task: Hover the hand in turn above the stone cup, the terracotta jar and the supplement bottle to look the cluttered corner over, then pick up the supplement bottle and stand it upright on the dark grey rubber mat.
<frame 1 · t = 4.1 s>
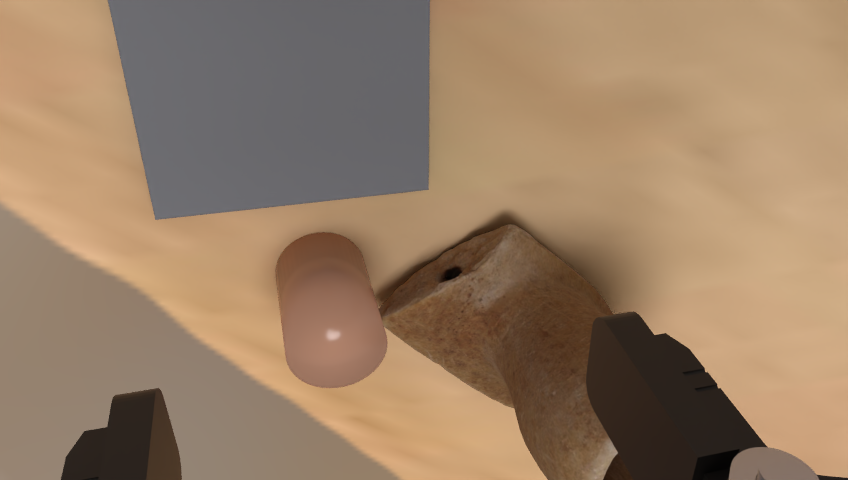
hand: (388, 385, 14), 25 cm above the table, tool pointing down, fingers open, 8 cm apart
stone cup: (515, 296, 48), on the table
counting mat: (284, 86, 37), on the table
terracotta jar: (320, 270, 43), on the table
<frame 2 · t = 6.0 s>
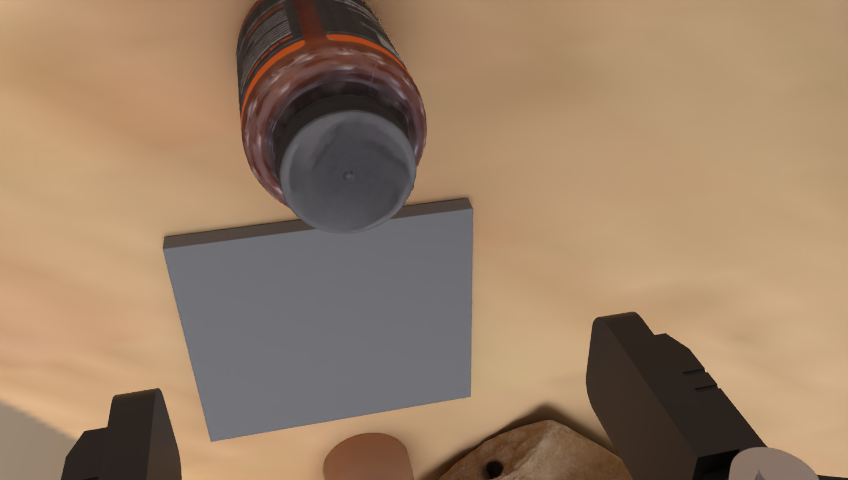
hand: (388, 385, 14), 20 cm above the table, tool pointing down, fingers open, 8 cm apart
supplement bottle: (311, 49, 31), on the table
stone cup: (554, 469, 49), on the table
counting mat: (332, 319, 38), on the table
terracotta jar: (366, 463, 44), on the table
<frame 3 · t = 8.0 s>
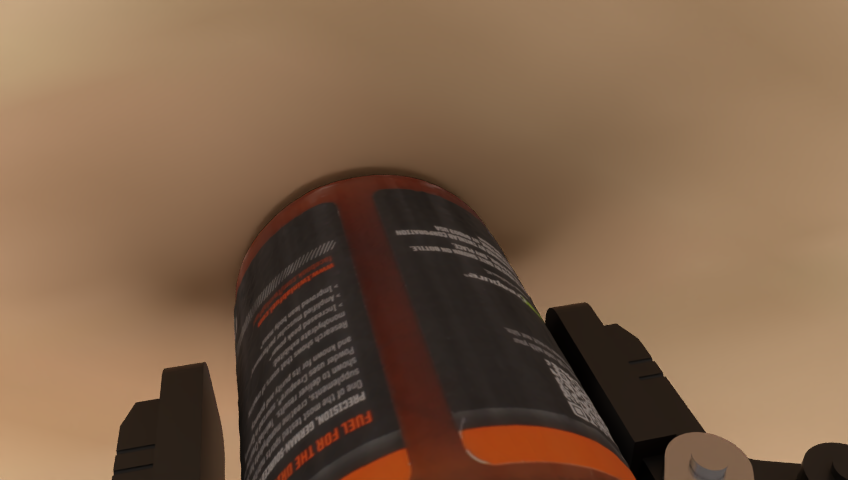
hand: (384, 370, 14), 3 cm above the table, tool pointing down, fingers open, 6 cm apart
supplement bottle: (367, 276, 17), on the table, touching gripper
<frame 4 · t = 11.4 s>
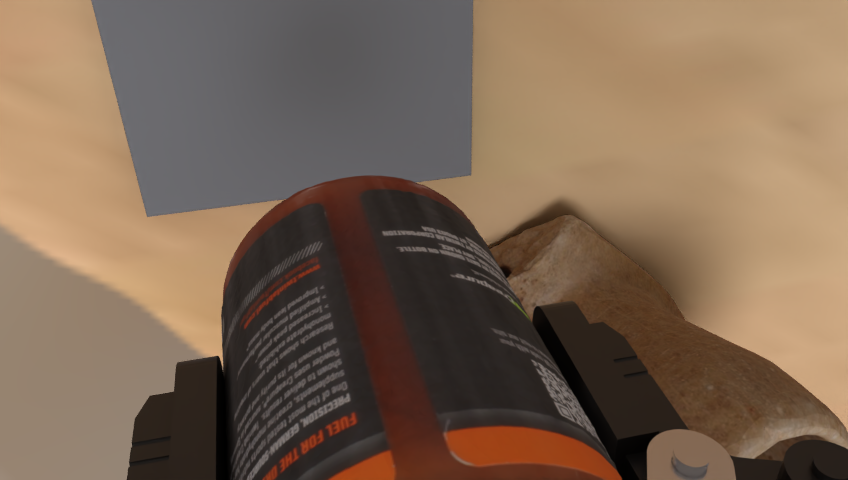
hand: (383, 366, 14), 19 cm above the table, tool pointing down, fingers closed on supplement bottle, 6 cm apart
supplement bottle: (356, 277, 17), point 16 cm above the table, touching gripper
stone cup: (570, 298, 41), on the table
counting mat: (297, 52, 30), on the table
when the fingers open (6 cm above the table, at t = 14.8 s): supplement bottle drops 1 cm, resting on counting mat.
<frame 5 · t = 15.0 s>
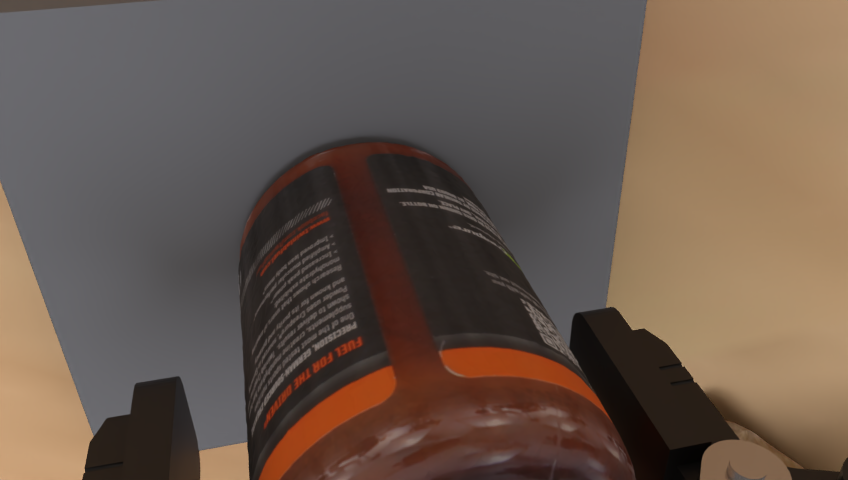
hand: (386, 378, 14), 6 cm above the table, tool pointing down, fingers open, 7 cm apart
supplement bottle: (362, 240, 18), point 1 cm above the table, touching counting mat
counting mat: (342, 221, 19), on the table
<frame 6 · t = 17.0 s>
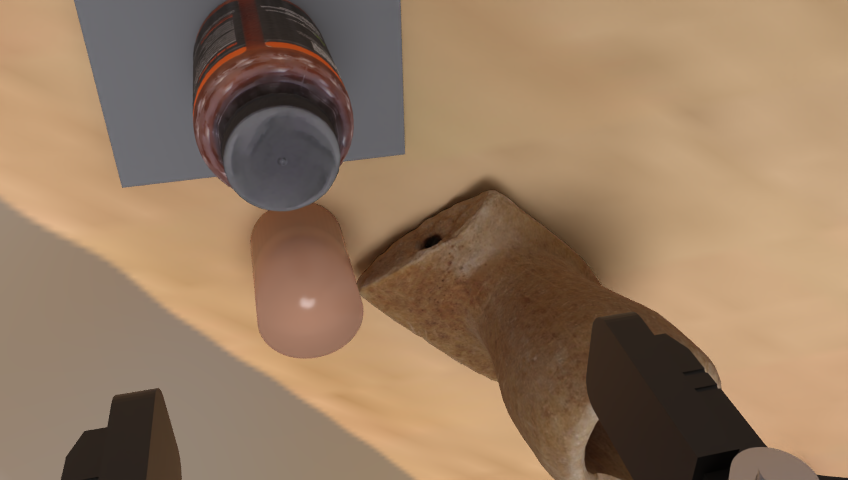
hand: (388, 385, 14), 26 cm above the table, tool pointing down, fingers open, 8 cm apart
supplement bottle: (260, 54, 35), point 1 cm above the table, touching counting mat
stone cup: (500, 267, 46), on the table
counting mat: (251, 46, 36), on the table
terracotta jar: (296, 241, 42), on the table
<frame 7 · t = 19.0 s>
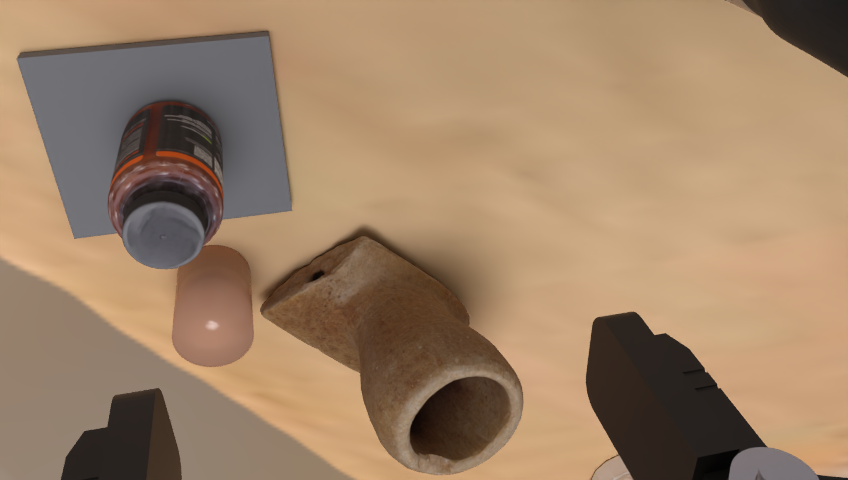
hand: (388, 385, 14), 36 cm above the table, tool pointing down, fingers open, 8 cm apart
supplement bottle: (174, 141, 47), point 1 cm above the table, touching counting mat
stone cup: (382, 293, 58), on the table
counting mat: (168, 135, 48), on the table
white cup: (619, 474, 77), on the table
terracotta jar: (214, 275, 54), on the table
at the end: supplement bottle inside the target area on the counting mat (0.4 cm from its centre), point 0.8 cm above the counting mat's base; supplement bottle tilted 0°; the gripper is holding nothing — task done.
